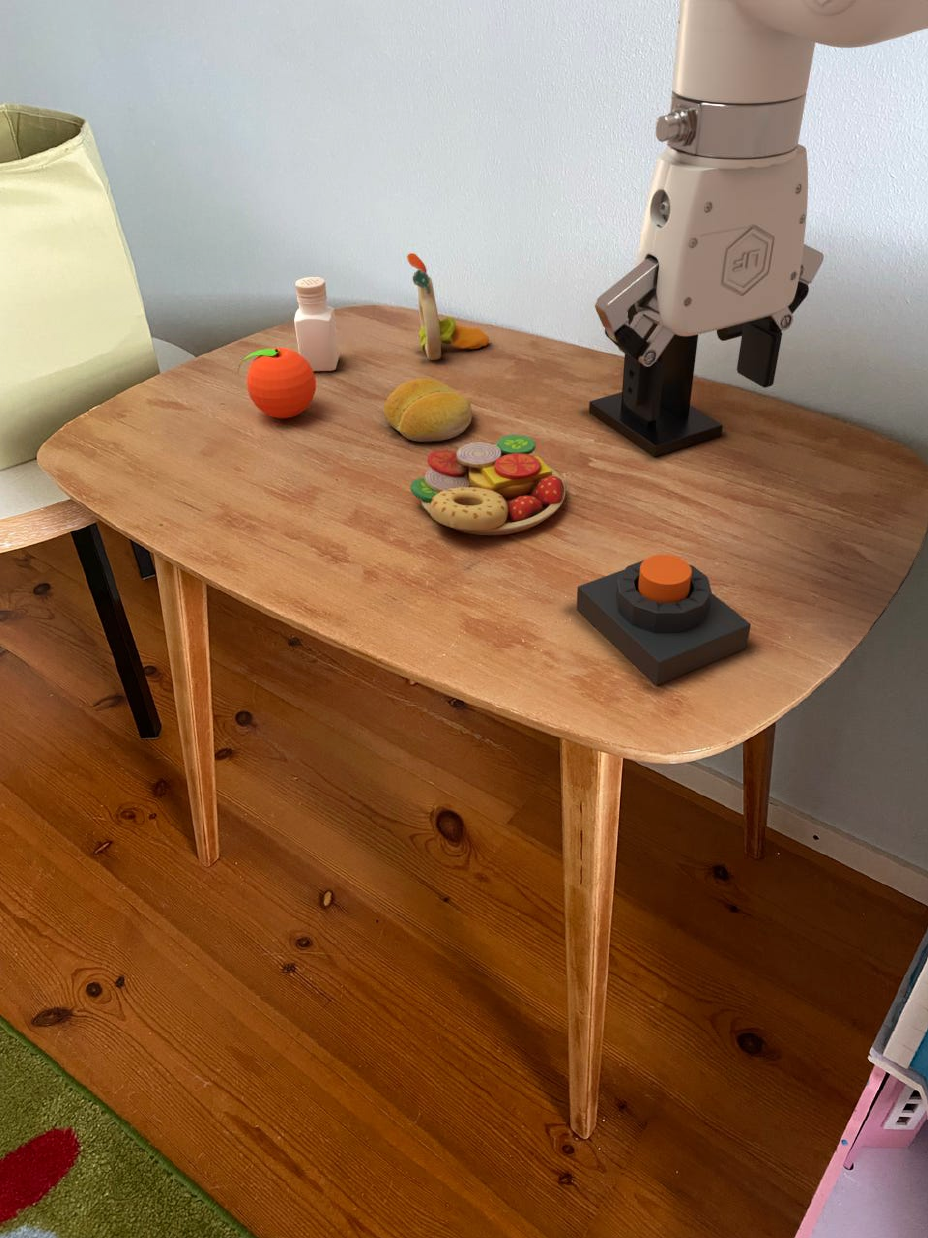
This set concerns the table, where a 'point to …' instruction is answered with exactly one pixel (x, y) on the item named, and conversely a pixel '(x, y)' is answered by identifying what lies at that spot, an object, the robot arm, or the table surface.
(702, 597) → the control block
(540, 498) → the toy food set
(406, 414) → the bread roll
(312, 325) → the salt shaker
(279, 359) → the clementine
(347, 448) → the table surface
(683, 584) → the button
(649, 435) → the bracket
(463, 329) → the rattle
